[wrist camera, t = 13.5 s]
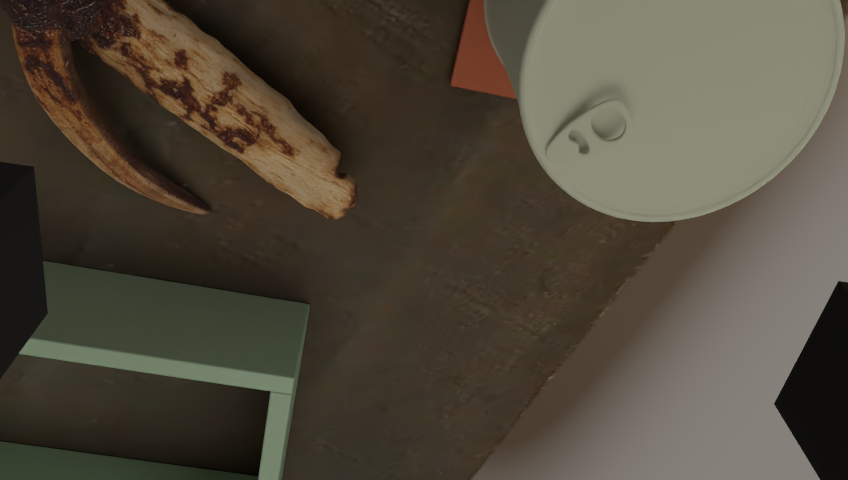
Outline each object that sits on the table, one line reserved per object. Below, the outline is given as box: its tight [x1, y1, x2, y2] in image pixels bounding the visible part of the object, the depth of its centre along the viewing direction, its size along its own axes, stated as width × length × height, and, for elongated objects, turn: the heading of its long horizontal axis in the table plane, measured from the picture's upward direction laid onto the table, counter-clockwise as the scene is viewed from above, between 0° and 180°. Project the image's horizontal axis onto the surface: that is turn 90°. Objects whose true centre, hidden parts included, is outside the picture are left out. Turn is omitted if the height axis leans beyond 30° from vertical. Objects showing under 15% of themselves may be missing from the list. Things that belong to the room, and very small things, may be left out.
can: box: [484, 0, 845, 222], centre depth 26 cm, size 9×9×12 cm
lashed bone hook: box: [0, 0, 358, 220], centre depth 31 cm, size 9×5×18 cm
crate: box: [0, 261, 310, 480], centre depth 39 cm, size 14×19×6 cm
